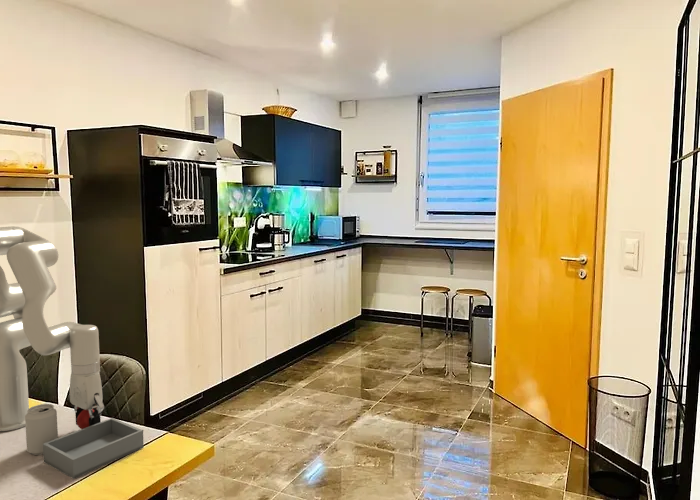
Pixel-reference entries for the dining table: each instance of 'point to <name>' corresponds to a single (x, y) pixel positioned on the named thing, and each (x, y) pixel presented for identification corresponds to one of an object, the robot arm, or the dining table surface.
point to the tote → (92, 447)
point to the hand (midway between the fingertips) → (88, 425)
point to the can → (40, 427)
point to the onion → (83, 419)
